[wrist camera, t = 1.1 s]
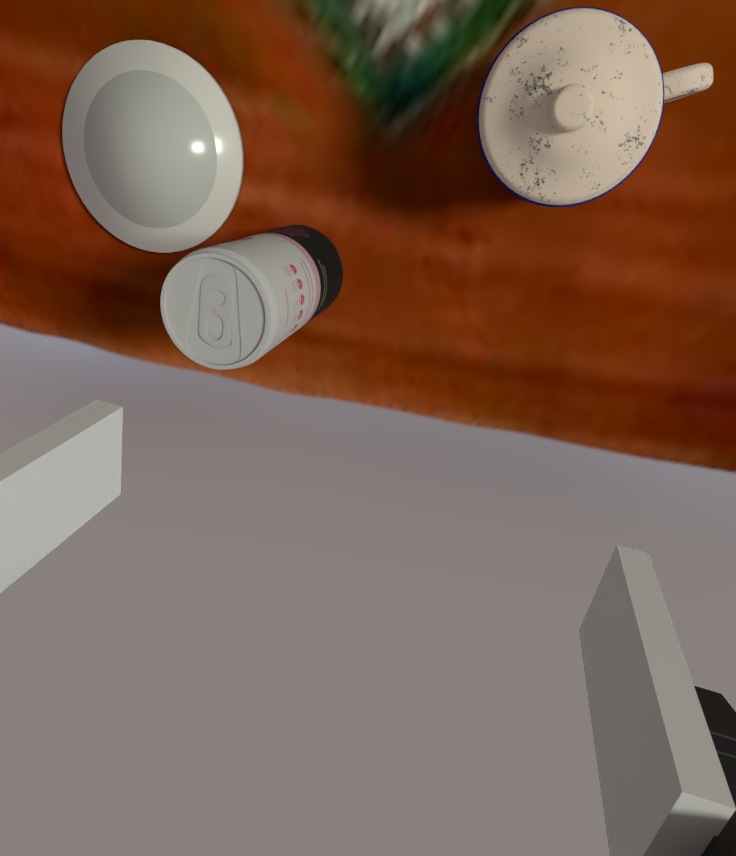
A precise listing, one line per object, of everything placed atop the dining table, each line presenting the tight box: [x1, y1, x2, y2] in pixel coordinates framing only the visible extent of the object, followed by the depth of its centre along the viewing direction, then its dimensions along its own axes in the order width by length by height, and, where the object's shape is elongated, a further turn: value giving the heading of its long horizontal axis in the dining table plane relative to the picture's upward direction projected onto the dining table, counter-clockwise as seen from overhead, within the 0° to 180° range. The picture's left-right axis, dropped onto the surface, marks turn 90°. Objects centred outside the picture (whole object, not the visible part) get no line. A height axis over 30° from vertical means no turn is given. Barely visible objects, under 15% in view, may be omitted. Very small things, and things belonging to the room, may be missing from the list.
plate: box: [62, 40, 244, 253], centre depth 45 cm, size 14×14×1 cm
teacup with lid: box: [477, 7, 713, 207], centre depth 34 cm, size 12×9×12 cm
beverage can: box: [160, 225, 343, 370], centre depth 40 cm, size 6×7×15 cm
